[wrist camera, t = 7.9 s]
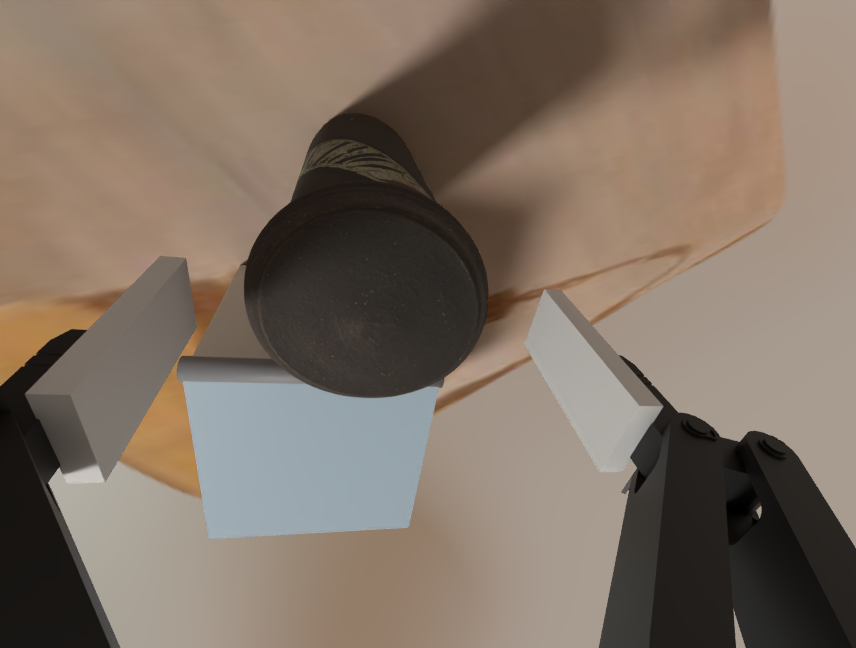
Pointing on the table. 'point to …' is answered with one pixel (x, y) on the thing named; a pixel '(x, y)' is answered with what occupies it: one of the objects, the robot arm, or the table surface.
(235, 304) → the box
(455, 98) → the table surface
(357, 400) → the lid
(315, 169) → the container
